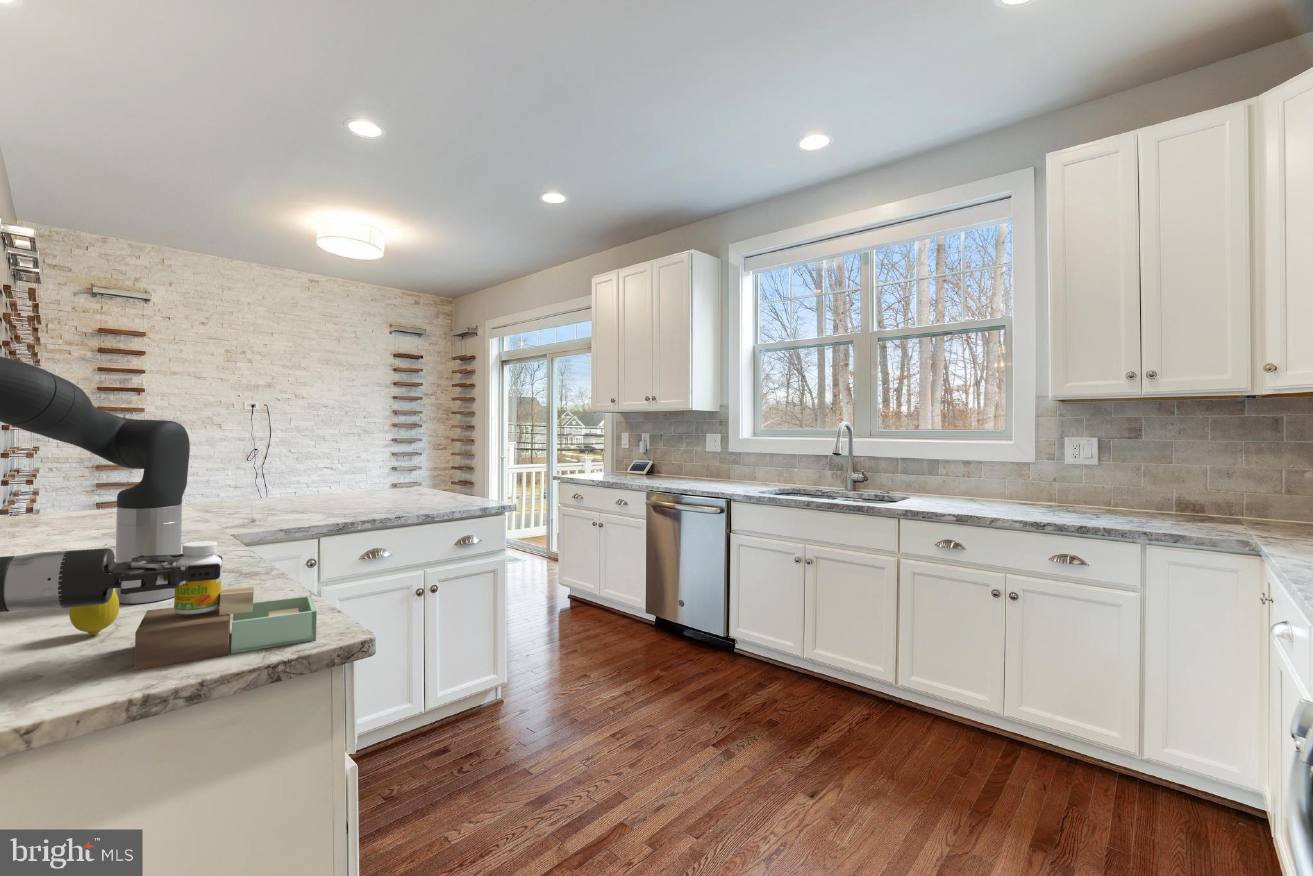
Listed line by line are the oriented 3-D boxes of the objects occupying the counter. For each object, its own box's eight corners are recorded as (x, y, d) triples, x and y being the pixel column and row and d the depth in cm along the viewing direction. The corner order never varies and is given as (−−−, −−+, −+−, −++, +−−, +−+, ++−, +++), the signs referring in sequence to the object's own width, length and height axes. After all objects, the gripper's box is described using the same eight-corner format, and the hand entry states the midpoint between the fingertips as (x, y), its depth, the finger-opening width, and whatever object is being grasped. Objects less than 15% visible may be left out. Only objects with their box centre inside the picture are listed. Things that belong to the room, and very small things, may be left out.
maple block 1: (221, 607, 89) (222, 588, 89) (253, 604, 91) (254, 585, 91) (219, 615, 85) (220, 594, 85) (252, 611, 88) (253, 591, 88)
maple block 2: (298, 607, 95) (297, 626, 95) (268, 611, 92) (268, 630, 92) (299, 614, 91) (299, 633, 91) (268, 618, 89) (268, 638, 89)
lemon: (87, 643, 86) (88, 589, 86) (58, 639, 87) (59, 586, 87) (128, 630, 92) (129, 580, 92) (100, 627, 93) (101, 577, 93)
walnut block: (146, 643, 87) (147, 610, 87) (229, 632, 92) (230, 600, 92) (134, 669, 78) (135, 632, 78) (227, 655, 83) (228, 620, 83)
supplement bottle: (167, 616, 82) (170, 547, 82) (181, 605, 87) (183, 540, 87) (214, 613, 84) (216, 546, 84) (225, 602, 89) (227, 539, 89)
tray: (232, 632, 92) (233, 604, 92) (310, 621, 98) (311, 595, 98) (231, 653, 84) (231, 622, 84) (315, 640, 90) (316, 611, 90)
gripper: (47, 562, 72) (219, 550, 81) (77, 541, 83) (224, 533, 93) (46, 622, 72) (218, 604, 81) (75, 594, 83) (222, 580, 93)
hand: (220, 566), depth 87 cm, fingers closed on supplement bottle, 5 cm apart
